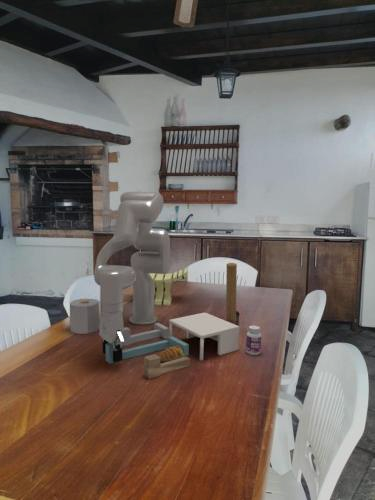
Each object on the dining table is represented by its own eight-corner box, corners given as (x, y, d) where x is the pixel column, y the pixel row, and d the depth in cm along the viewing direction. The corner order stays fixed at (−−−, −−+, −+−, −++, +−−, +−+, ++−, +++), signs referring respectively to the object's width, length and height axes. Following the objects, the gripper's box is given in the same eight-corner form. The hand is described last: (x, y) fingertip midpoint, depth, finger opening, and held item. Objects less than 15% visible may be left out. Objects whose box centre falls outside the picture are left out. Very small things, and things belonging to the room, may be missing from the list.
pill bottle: (251, 356, 136) (252, 330, 135) (242, 351, 141) (243, 325, 139) (263, 353, 138) (264, 328, 137) (254, 348, 143) (255, 323, 142)
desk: (168, 342, 148) (169, 319, 146) (204, 333, 158) (204, 312, 157) (201, 360, 131) (201, 335, 130) (238, 349, 142) (239, 326, 140)
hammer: (233, 342, 155) (233, 273, 145) (220, 341, 156) (220, 273, 146) (240, 319, 173) (241, 256, 164) (229, 317, 174) (229, 256, 165)
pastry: (163, 365, 128) (163, 354, 127) (152, 358, 133) (152, 348, 133) (185, 358, 134) (186, 348, 133) (174, 352, 139) (174, 342, 138)
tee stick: (114, 341, 147) (114, 327, 146) (158, 332, 159) (158, 318, 158) (123, 348, 140) (123, 333, 140) (168, 337, 152) (169, 323, 151)
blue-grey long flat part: (105, 360, 130) (105, 343, 129) (169, 344, 145) (169, 329, 144) (122, 373, 120) (121, 355, 119) (188, 355, 135) (188, 339, 134)
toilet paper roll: (105, 329, 161) (104, 302, 159) (79, 336, 152) (79, 308, 150) (89, 322, 169) (88, 296, 167) (64, 328, 160) (63, 302, 159)
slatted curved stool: (187, 297, 214) (187, 266, 212) (186, 305, 198) (187, 271, 196) (134, 296, 215) (134, 265, 212) (129, 303, 199) (129, 270, 196)
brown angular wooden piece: (144, 375, 120) (144, 357, 119) (185, 363, 130) (185, 346, 129) (149, 378, 118) (149, 360, 117) (190, 366, 127) (191, 349, 126)
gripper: (91, 302, 132) (91, 350, 134) (112, 315, 118) (113, 369, 120) (111, 299, 136) (111, 346, 139) (134, 311, 122) (134, 363, 125)
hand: (112, 356), depth 130 cm, fingers open, 7 cm apart
